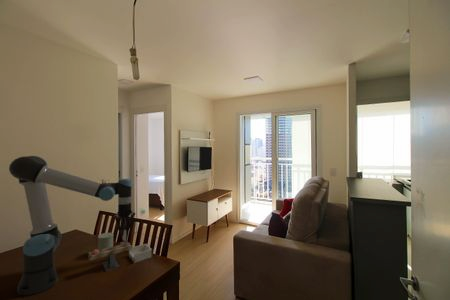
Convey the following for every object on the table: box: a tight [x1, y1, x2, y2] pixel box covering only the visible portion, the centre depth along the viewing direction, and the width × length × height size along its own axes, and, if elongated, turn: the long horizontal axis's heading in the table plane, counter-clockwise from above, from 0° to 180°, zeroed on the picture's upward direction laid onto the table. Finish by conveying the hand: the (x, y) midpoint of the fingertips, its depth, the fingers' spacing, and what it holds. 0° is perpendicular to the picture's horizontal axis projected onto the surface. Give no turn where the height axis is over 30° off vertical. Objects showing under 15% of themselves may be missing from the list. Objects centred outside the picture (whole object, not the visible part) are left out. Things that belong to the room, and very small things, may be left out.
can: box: [97, 232, 114, 251], centre depth 141 cm, size 9×9×12 cm
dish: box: [128, 243, 153, 264], centre depth 136 cm, size 11×11×5 cm
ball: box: [92, 248, 99, 255], centre depth 120 cm, size 3×3×3 cm
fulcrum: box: [101, 253, 120, 272], centre depth 125 cm, size 7×10×8 cm
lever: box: [88, 240, 133, 261], centre depth 127 cm, size 22×12×4 cm, turn 130°
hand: (124, 239), depth 136 cm, fingers closed
